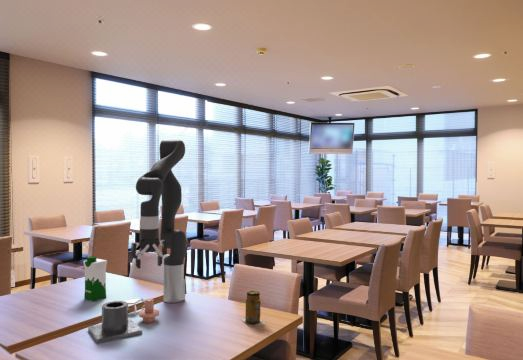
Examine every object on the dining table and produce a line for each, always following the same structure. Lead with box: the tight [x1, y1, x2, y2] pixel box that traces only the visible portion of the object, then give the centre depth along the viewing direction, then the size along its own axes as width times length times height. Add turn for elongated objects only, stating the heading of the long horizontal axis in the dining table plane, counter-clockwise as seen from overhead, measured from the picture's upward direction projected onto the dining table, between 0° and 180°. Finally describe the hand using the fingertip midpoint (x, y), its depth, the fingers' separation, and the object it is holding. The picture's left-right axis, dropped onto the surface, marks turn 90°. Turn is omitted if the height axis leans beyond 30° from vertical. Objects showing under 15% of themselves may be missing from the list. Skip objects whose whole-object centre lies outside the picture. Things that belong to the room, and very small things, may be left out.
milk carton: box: [82, 255, 108, 302], centre depth 200 cm, size 9×9×20 cm
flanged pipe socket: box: [87, 300, 143, 344], centre depth 159 cm, size 16×14×10 cm
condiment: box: [240, 290, 267, 327], centre depth 172 cm, size 7×8×12 cm
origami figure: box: [124, 298, 145, 315], centre depth 182 cm, size 12×8×5 cm
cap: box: [138, 298, 160, 324], centre depth 172 cm, size 8×8×8 cm
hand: (149, 266), depth 171 cm, fingers open, 8 cm apart
